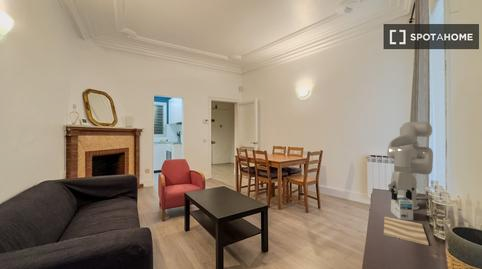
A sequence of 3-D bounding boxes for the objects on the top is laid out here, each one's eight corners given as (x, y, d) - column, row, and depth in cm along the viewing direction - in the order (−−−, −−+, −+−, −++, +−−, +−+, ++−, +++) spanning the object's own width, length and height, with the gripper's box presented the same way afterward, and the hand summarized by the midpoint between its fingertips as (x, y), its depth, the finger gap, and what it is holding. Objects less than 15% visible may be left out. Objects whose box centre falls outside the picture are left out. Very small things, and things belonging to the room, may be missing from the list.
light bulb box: (413, 220, 115) (414, 201, 115) (399, 219, 116) (400, 200, 116) (402, 212, 125) (403, 195, 125) (390, 212, 127) (390, 194, 126)
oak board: (384, 218, 118) (384, 216, 118) (421, 225, 109) (421, 224, 109) (383, 234, 100) (383, 232, 100) (428, 245, 91) (428, 243, 91)
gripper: (408, 168, 125) (408, 197, 125) (383, 168, 122) (382, 198, 122) (421, 170, 118) (420, 201, 118) (395, 171, 115) (394, 202, 115)
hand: (401, 199), depth 120 cm, fingers open, 9 cm apart
